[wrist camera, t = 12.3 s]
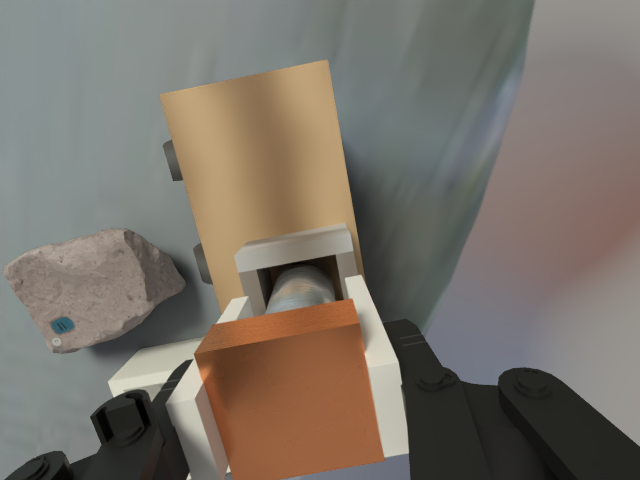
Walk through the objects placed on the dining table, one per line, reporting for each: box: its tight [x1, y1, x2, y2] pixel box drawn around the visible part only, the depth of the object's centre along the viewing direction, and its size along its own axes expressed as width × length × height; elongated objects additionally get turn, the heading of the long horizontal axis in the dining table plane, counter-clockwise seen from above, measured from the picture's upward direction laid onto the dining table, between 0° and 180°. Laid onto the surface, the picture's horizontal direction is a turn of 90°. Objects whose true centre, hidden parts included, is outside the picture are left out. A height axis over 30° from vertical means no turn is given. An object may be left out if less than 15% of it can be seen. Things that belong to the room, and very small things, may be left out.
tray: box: [108, 337, 231, 480], centre depth 30 cm, size 15×11×5 cm
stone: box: [4, 228, 186, 354], centre depth 27 cm, size 13×10×6 cm
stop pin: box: [194, 257, 385, 480], centre depth 14 cm, size 4×4×11 cm
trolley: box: [159, 59, 366, 317], centre depth 22 cm, size 12×15×13 cm
